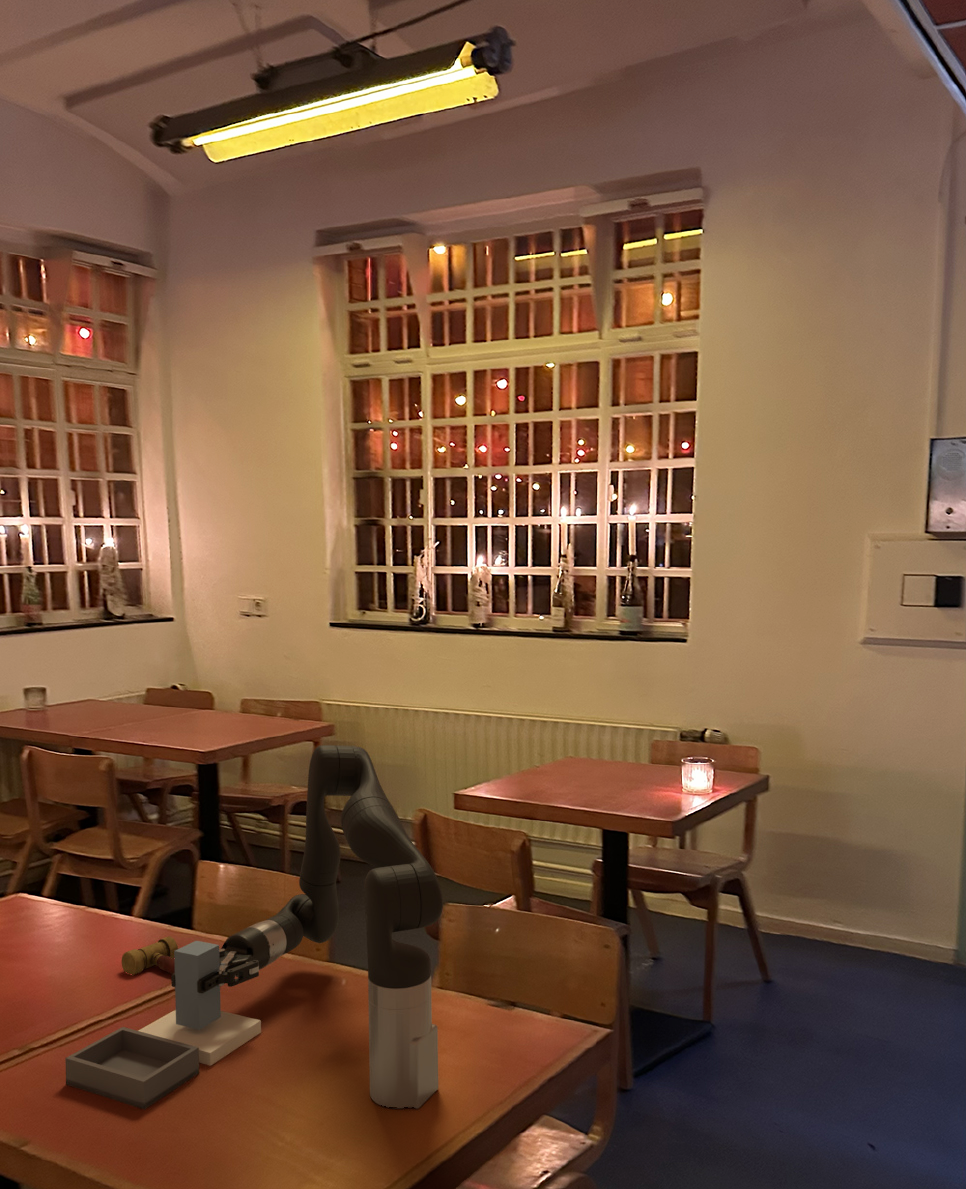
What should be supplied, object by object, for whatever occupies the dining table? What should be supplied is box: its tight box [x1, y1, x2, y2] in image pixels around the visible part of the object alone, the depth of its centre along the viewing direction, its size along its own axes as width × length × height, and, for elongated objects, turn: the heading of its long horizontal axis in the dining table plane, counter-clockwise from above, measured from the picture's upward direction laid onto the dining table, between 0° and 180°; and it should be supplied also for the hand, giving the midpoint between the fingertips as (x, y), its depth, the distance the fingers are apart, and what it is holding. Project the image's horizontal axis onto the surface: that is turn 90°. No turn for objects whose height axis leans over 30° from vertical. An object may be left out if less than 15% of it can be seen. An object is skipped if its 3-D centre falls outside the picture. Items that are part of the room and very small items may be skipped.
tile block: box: [174, 940, 222, 1030], centre depth 157 cm, size 5×5×12 cm
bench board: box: [137, 1009, 262, 1067], centre depth 157 cm, size 16×12×2 cm
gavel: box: [121, 935, 179, 976], centre depth 183 cm, size 21×5×10 cm
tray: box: [64, 1026, 200, 1110], centre depth 144 cm, size 16×11×4 cm
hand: (186, 984), depth 154 cm, fingers closed on tile block, 5 cm apart
